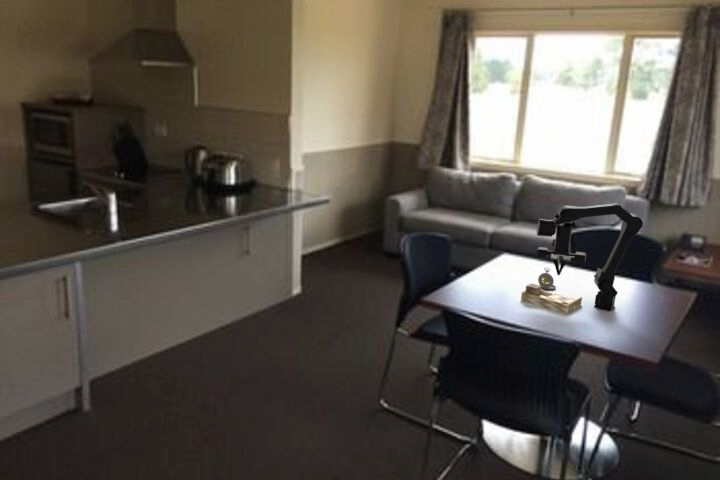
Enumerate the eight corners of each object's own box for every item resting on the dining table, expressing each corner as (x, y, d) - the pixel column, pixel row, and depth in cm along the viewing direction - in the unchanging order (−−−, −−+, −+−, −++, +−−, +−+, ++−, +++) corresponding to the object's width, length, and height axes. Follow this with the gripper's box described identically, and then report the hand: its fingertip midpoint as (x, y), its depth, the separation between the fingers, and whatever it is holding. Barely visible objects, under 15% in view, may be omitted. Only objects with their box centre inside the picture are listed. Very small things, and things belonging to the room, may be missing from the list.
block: (540, 296, 248) (541, 286, 247) (535, 298, 245) (536, 288, 244) (529, 293, 251) (531, 283, 250) (524, 296, 248) (526, 285, 247)
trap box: (580, 305, 246) (582, 297, 245) (566, 313, 236) (567, 305, 235) (536, 293, 259) (537, 285, 258) (520, 300, 248) (521, 292, 248)
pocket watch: (553, 286, 270) (556, 264, 267) (557, 292, 261) (561, 270, 259) (535, 284, 270) (537, 263, 268) (538, 290, 262) (541, 268, 260)
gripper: (589, 236, 245) (584, 273, 249) (541, 230, 252) (537, 266, 256) (587, 242, 235) (582, 280, 239) (538, 236, 242) (533, 273, 246)
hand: (558, 275), depth 245 cm, fingers closed
